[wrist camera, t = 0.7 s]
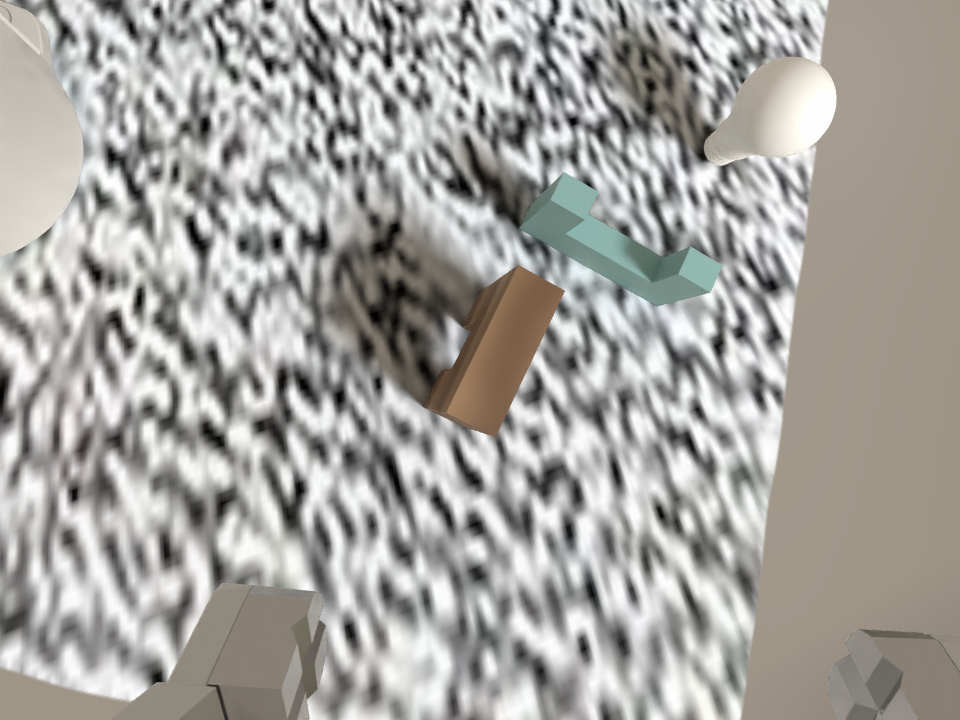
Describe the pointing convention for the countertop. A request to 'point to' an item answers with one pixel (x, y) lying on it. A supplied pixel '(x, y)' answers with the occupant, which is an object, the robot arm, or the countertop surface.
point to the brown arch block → (495, 351)
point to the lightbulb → (775, 112)
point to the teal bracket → (614, 247)
